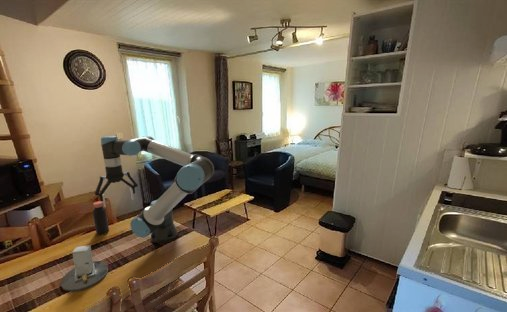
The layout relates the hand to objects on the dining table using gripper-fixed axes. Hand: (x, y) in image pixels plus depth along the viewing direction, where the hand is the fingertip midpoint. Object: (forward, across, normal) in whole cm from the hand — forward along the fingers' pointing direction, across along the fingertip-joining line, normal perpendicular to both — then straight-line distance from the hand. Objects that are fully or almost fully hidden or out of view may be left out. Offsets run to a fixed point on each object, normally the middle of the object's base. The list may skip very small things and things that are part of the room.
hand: (119, 202), depth 129 cm
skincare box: (+24, +20, +15) cm, 35 cm away
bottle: (+26, +8, -25) cm, 37 cm away
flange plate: (+26, +20, +15) cm, 37 cm away
